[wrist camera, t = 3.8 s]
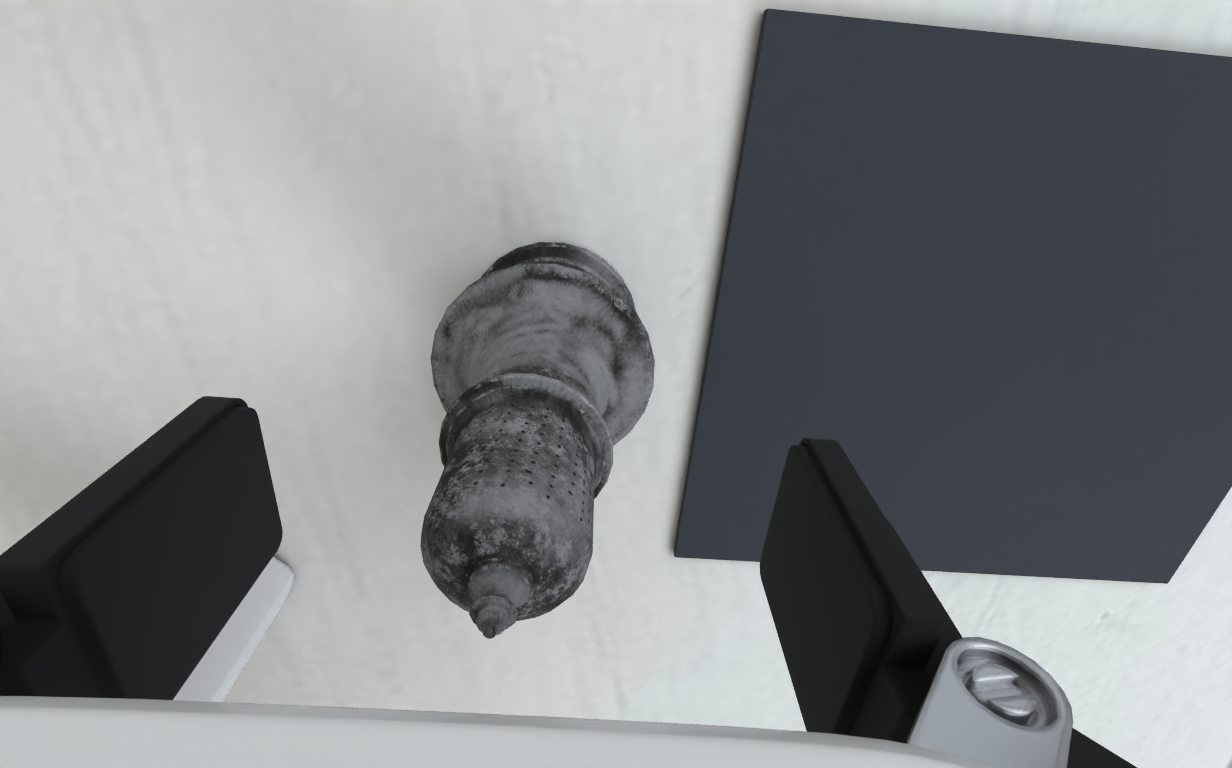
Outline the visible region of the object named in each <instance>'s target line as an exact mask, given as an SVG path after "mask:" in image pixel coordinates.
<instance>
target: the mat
mask: <svg viewBox="0 0 1232 768" xmlns="http://www.w3.org/2000/svg"><path fill="white" fill-rule="evenodd" d="M804 438H813V439H828V440H836V441H837V442H838V443H839V444H840V445H841V447H842V449H843V450H844V452H845V453H846V455H847V457H848V458H849V460H850V462H851V463H852V465H853V466H854V468H855V470H856V471H857V473H858V474H859V476H860V478H861V479H862V481H863V482H864V484H865V486H866V487H867V489H868V491H869V492H870V494H871V495H872V497H873V499H874V500H875V502H876V503H877V505H878V507H879V508H880V510H881V511H882V513H883V515H884V516H885V518H887V520H888V521H889V522H890V523H891V524H892V526H893V527H894V529H895V531H896V532H897V534H898V535H899V537H900V539H901V540H902V542H903V543H904V545H905V547H906V548H907V550H908V551H909V553H910V555H911V556H912V558H913V559H914V561H915V563H916V564H917V566H918V567H919V569H920V570H924V571H943V572H962V573H980V574H999V575H1018V576H1036V577H1055V578H1074V579H1092V580H1111V581H1130V582H1148V583H1168V582H1169V581H1170V579H1171V578H1172V576H1173V575H1174V573H1175V572H1176V570H1177V569H1178V567H1179V566H1180V564H1181V563H1182V561H1183V560H1184V558H1185V557H1186V555H1187V554H1188V552H1189V551H1190V549H1191V548H1192V546H1193V544H1194V543H1195V541H1196V540H1197V538H1198V537H1199V535H1200V534H1201V532H1202V531H1203V529H1204V528H1205V526H1206V525H1207V523H1208V522H1209V520H1210V519H1211V517H1212V516H1213V514H1214V513H1215V511H1216V510H1217V508H1218V507H1219V505H1220V504H1221V502H1222V500H1223V499H1224V497H1225V496H1226V494H1227V493H1228V491H1229V490H1230V488H1231V487H1232V57H1225V56H1215V55H1206V54H1196V53H1186V52H1177V51H1167V50H1158V49H1148V48H1139V47H1129V46H1120V45H1110V44H1101V43H1091V42H1081V41H1072V40H1062V39H1053V38H1043V37H1034V36H1024V35H1015V34H1005V33H995V32H986V31H976V30H967V29H957V28H948V27H938V26H929V25H919V24H910V23H900V22H890V21H881V20H871V19H862V18H852V17H843V16H833V15H824V14H814V13H804V12H795V11H785V10H776V9H766V10H765V11H764V15H763V21H762V27H761V33H760V39H759V45H758V51H757V57H756V63H755V69H754V75H753V81H752V87H751V93H750V99H749V105H748V111H747V117H746V123H745V129H744V135H743V141H742V147H741V153H740V159H739V165H738V171H737V177H736V183H735V189H734V195H733V201H732V207H731V213H730V219H729V225H728V231H727V237H726V243H725V249H724V255H723V261H722V266H721V272H720V278H719V284H718V290H717V296H716V302H715V308H714V314H713V320H712V326H711V332H710V338H709V344H708V350H707V356H706V362H705V368H704V374H703V380H702V386H701V392H700V398H699V404H698V410H697V416H696V422H695V428H694V434H693V440H692V446H691V452H690V458H689V464H688V470H687V476H686V482H685V488H684V494H683V500H682V506H681V512H680V518H679V524H678V530H677V536H676V542H675V548H674V556H675V557H681V558H700V559H719V560H737V561H756V562H760V559H761V554H762V551H763V547H764V543H765V539H766V535H767V531H768V527H769V524H770V520H771V516H772V512H773V508H774V504H775V500H776V497H777V493H778V489H779V485H780V481H781V477H782V474H783V470H784V466H785V462H786V458H787V454H788V451H789V449H790V447H791V446H792V445H799V443H800V442H801V440H802V439H804Z"/></svg>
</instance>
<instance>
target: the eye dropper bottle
mask: <svg viewBox="0 0 1232 768" xmlns="http://www.w3.org/2000/svg"><path fill="white" fill-rule="evenodd" d="M293 581H294V574H293V571H292V570H291V569H290V568H289V567H288V566H287V565H285V564H284V563H283V562H281V561H280V560H278V559H277V558H275V557H274V556H273V557H272V559H271V560H270V562H269V563H268V565H267V566H266V567H265V569H264V570H263V572H262V573H261V575H260V576H259V578H258V579H257V580H256V582H255V583H254V585H253V586H252V588H251V589H250V590H249V592H248V593H247V595H246V596H245V598H244V599H243V600H242V602H241V603H240V605H239V606H238V608H237V609H236V610H235V612H234V613H233V615H232V616H231V618H230V619H229V620H228V622H227V623H226V625H225V626H224V628H223V629H222V630H221V632H220V633H219V635H218V636H217V638H216V639H215V640H214V642H213V643H212V645H211V646H210V648H209V649H208V650H207V652H206V653H205V655H204V656H203V658H202V659H201V661H200V662H199V663H198V665H197V666H196V668H195V669H194V671H193V672H192V673H191V675H190V676H189V678H188V679H187V681H186V682H185V683H184V685H183V686H182V688H181V689H180V691H179V692H178V693H177V695H176V696H175V698H174V699H173V700H179V701H203V702H223V700H224V699H225V697H226V696H227V694H228V692H229V691H230V689H231V688H232V686H233V684H234V683H235V681H236V679H237V678H238V676H239V675H240V673H241V671H242V670H243V668H244V667H245V665H246V663H247V662H248V660H249V659H250V657H251V655H252V654H253V652H254V650H255V649H256V647H257V646H258V644H259V642H260V641H261V639H262V638H263V636H264V634H265V633H266V631H267V629H268V628H269V626H270V625H271V623H272V621H273V620H274V618H275V616H276V615H277V613H278V612H279V610H280V608H281V607H282V605H283V603H284V602H285V600H286V598H287V596H288V594H289V592H290V590H291V587H292V585H293Z"/></svg>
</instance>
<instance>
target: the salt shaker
mask: <svg viewBox="0 0 1232 768" xmlns="http://www.w3.org/2000/svg"><path fill="white" fill-rule="evenodd" d="M654 362H655V361H654V356H653V352H652V348H651V344H650V340H649V336H648V333H647V331H646V329H645V327H644V325H643V324H642V322H641V320H640V318H639V317H638V315H637V313H636V311H635V307H634V303H633V299H632V295H631V293H630V292H629V290H628V288H627V286H626V285H625V283H624V281H623V279H622V278H621V276H620V275H619V274H618V273H617V272H616V271H615V270H614V269H613V268H612V267H611V266H610V265H609V264H608V263H607V262H606V261H605V260H603V259H601V258H600V257H598V256H596V255H595V254H593V253H591V252H590V251H588V250H586V249H583V248H580V247H576V246H573V245H569V244H566V243H546V242H539V243H535V244H531V245H528V246H524V247H520V248H517V249H515V250H513V251H512V252H510V253H508V254H506V255H505V256H503V257H501V258H499V259H498V260H497V261H496V262H495V263H494V264H493V265H492V266H491V267H490V268H489V269H488V270H487V271H486V272H485V273H484V274H483V276H482V278H481V279H479V280H477V281H476V282H474V283H472V284H471V285H469V286H468V287H467V288H466V289H465V290H464V291H463V292H462V293H461V294H460V295H459V296H458V297H457V298H456V299H455V300H454V301H453V302H452V303H451V304H450V305H449V306H448V308H447V310H446V312H445V314H444V316H443V318H442V320H441V322H440V324H439V326H438V328H437V330H436V332H435V336H434V342H433V348H432V354H431V365H432V373H433V380H434V386H435V388H436V391H437V393H438V395H439V398H440V400H441V402H442V405H443V407H444V409H445V411H446V412H447V415H446V417H445V419H444V420H443V422H442V427H441V433H440V439H439V447H440V453H441V460H442V463H443V466H444V471H443V473H442V475H441V478H440V480H439V483H438V485H437V487H436V490H435V492H434V495H433V497H432V499H431V502H430V504H429V507H428V509H427V511H426V514H425V516H424V522H423V528H422V534H421V551H422V557H423V563H424V565H425V567H426V569H427V571H428V573H429V574H430V576H431V578H432V580H433V581H434V583H435V584H436V586H437V587H438V588H439V589H440V590H441V592H442V593H443V594H444V595H445V596H446V597H447V598H448V599H449V600H450V601H452V602H453V603H455V604H456V605H458V606H459V607H461V608H462V609H464V610H466V611H468V612H470V613H469V615H470V617H471V618H472V620H473V622H474V623H475V624H476V625H477V627H478V629H479V630H480V631H481V632H483V635H484V636H485V637H486V638H489V639H490V638H493V637H495V635H498V634H500V633H501V632H503V631H504V630H505V629H507V628H509V627H510V626H511V625H513V624H514V623H515V621H520V620H525V619H530V618H535V617H538V616H540V615H543V614H545V613H547V612H550V611H551V610H553V609H554V608H556V607H557V606H558V605H560V604H561V603H562V602H564V601H565V600H566V599H568V598H569V597H570V596H572V595H573V594H574V593H575V591H576V590H577V589H578V587H579V586H580V585H581V583H582V582H583V580H584V577H585V574H586V571H587V568H588V565H589V562H590V559H591V556H592V550H593V509H594V499H595V498H596V497H597V495H598V494H599V492H600V491H601V490H602V488H603V487H604V485H605V484H606V483H607V480H608V477H609V474H610V471H611V468H612V465H613V446H614V445H615V444H616V443H618V442H619V441H620V440H621V439H622V438H624V437H625V436H626V435H627V434H628V433H630V431H631V430H632V429H633V427H634V426H635V424H636V423H637V422H638V420H639V419H640V417H641V416H642V415H643V413H644V412H645V409H646V406H647V403H648V401H649V398H650V395H651V392H652V389H653V381H654Z"/></svg>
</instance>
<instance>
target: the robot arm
mask: <svg viewBox="0 0 1232 768" xmlns="http://www.w3.org/2000/svg"><path fill="white" fill-rule="evenodd" d="M281 540H282V525H281V521H280V516H279V511H278V507H277V502H276V497H275V493H274V488H273V484H272V479H271V474H270V470H269V465H268V460H267V456H266V451H265V446H264V442H263V437H262V433H261V428H260V423H259V419H258V415H257V412H256V411H255V410H254V409H253V408H248V405H247V404H246V402H245V401H244V400H242V399H239V398H225V397H210V396H205V397H202V398H200V399H198V400H197V401H195V402H194V403H193V404H192V405H190V406H189V407H188V408H187V409H185V410H184V411H183V412H182V413H180V414H179V415H178V416H176V417H175V418H174V419H173V420H171V421H170V422H169V423H168V424H166V425H165V426H164V427H163V428H161V429H160V430H159V431H157V432H156V433H155V434H154V435H152V436H151V437H150V438H149V439H147V440H146V441H145V442H144V443H142V444H141V445H140V446H138V447H137V448H136V449H135V450H133V451H132V452H131V453H130V454H128V455H127V456H126V457H124V458H123V459H122V460H121V461H119V462H118V463H117V464H116V465H114V466H113V467H112V468H111V469H109V470H108V471H107V472H105V473H104V474H103V475H102V476H100V477H99V478H98V479H97V480H95V481H94V482H93V483H92V484H90V485H89V486H88V487H86V488H85V489H84V490H83V491H81V492H80V493H79V494H78V495H76V496H75V497H74V498H73V499H71V500H70V501H69V502H67V503H66V504H65V505H64V506H62V507H61V508H60V509H59V510H57V511H56V512H55V513H54V514H52V515H51V516H50V517H48V518H47V519H46V520H45V521H43V522H42V523H41V524H40V525H38V526H37V527H36V528H35V529H33V530H32V531H31V532H29V533H28V534H27V535H26V536H24V537H23V538H22V539H21V540H19V541H18V542H17V543H16V544H14V545H13V546H12V547H10V548H9V549H8V550H7V551H5V552H4V553H3V554H2V555H0V768H1137V767H1135V766H1134V765H1132V764H1130V763H1129V762H1127V761H1125V760H1124V759H1122V758H1121V757H1119V756H1117V755H1116V754H1114V753H1112V752H1111V751H1109V750H1108V749H1106V748H1104V747H1103V746H1101V745H1099V744H1098V743H1096V742H1095V741H1093V740H1091V739H1090V738H1088V737H1086V736H1085V735H1083V734H1082V733H1080V732H1078V731H1077V730H1075V729H1073V728H1072V725H1073V717H1072V708H1071V705H1070V703H1069V701H1068V699H1067V697H1066V695H1065V693H1064V691H1063V690H1062V689H1061V687H1060V686H1059V685H1058V684H1057V683H1056V681H1055V680H1054V679H1053V678H1052V676H1051V675H1050V674H1049V673H1047V672H1046V671H1045V670H1044V669H1043V668H1042V667H1040V666H1039V665H1038V664H1037V663H1036V662H1035V661H1033V660H1032V659H1030V658H1029V657H1027V656H1025V655H1024V654H1022V653H1021V652H1019V651H1017V650H1016V649H1014V648H1011V647H1009V646H1007V645H1004V644H1002V643H1000V642H997V641H993V640H989V639H984V638H980V637H966V638H962V636H961V634H960V633H959V631H958V630H957V628H956V626H955V625H954V623H953V622H952V620H951V618H950V617H949V615H948V614H947V612H946V610H945V609H944V607H943V606H942V604H941V602H940V601H939V599H938V598H937V596H936V594H935V593H934V591H933V590H932V588H931V586H930V585H929V583H928V582H927V580H926V578H925V577H924V575H923V574H922V572H921V570H920V569H919V567H918V566H917V564H916V563H915V561H914V559H913V558H912V556H911V555H910V553H909V551H908V550H907V548H906V547H905V545H904V543H903V542H902V540H901V539H900V537H899V535H898V534H897V532H896V531H895V529H894V527H893V526H892V524H891V523H890V522H889V521H888V520H887V518H885V516H884V515H883V513H882V511H881V510H880V508H879V507H878V505H877V503H876V502H875V500H874V499H873V497H872V495H871V494H870V492H869V491H868V489H867V487H866V486H865V484H864V482H863V481H862V479H861V478H860V476H859V474H858V473H857V471H856V470H855V468H854V466H853V465H852V463H851V462H850V460H849V458H848V457H847V455H846V453H845V452H844V450H843V449H842V447H841V445H840V444H839V443H838V442H837V441H836V440H828V439H813V438H804V439H802V440H801V442H800V443H799V445H792V446H791V447H790V449H789V451H788V454H787V458H786V462H785V466H784V470H783V474H782V477H781V481H780V485H779V489H778V493H777V497H776V500H775V504H774V508H773V512H772V516H771V520H770V524H769V527H768V531H767V535H766V539H765V543H764V547H763V551H762V554H761V559H760V575H761V580H762V583H763V586H764V590H765V593H766V596H767V600H768V603H769V606H770V610H771V613H772V616H773V620H774V623H775V627H776V630H777V633H778V637H779V640H780V643H781V647H782V650H783V653H784V657H785V660H786V663H787V667H788V670H789V673H790V677H791V680H792V683H793V687H794V690H795V693H796V697H797V700H798V703H799V707H800V710H801V713H802V717H803V720H804V723H805V727H806V730H807V732H802V731H788V730H774V729H759V728H745V727H730V726H715V725H695V724H676V723H657V722H638V721H619V720H600V719H580V718H561V717H542V716H520V715H499V714H478V713H457V712H436V711H414V710H392V709H370V708H348V707H326V706H301V705H277V704H252V703H228V702H203V701H179V700H173V699H174V698H175V696H176V695H177V693H178V692H179V691H180V689H181V688H182V686H183V685H184V683H185V682H186V681H187V679H188V678H189V676H190V675H191V673H192V672H193V671H194V669H195V668H196V666H197V665H198V663H199V662H200V661H201V659H202V658H203V656H204V655H205V653H206V652H207V650H208V649H209V648H210V646H211V645H212V643H213V642H214V640H215V639H216V638H217V636H218V635H219V633H220V632H221V630H222V629H223V628H224V626H225V625H226V623H227V622H228V620H229V619H230V618H231V616H232V615H233V613H234V612H235V610H236V609H237V608H238V606H239V605H240V603H241V602H242V600H243V599H244V598H245V596H246V595H247V593H248V592H249V590H250V589H251V588H252V586H253V585H254V583H255V582H256V580H257V579H258V578H259V576H260V575H261V573H262V572H263V570H264V569H265V567H266V566H267V565H268V563H269V562H270V560H271V559H272V557H273V556H274V555H275V553H276V552H277V550H278V548H279V546H280V543H281Z"/></svg>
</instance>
